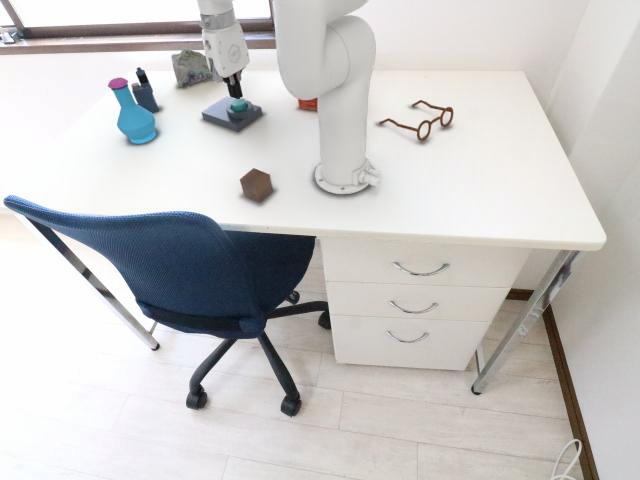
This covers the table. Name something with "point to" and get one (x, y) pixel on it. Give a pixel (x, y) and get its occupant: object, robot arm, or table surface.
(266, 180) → the block
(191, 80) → the mineral rock
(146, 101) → the vaping device
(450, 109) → the glasses
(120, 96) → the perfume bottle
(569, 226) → the table surface
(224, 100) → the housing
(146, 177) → the table surface
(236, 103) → the button
